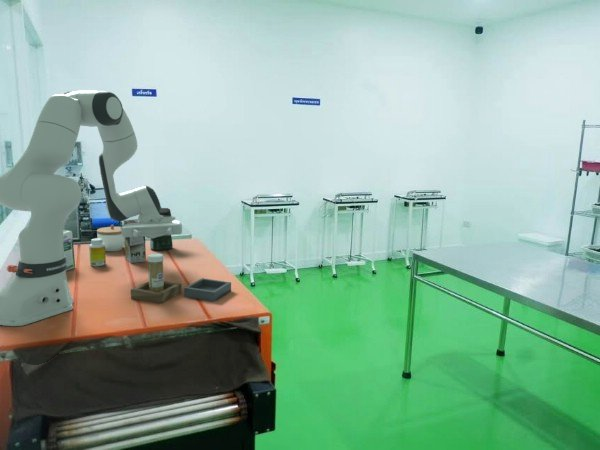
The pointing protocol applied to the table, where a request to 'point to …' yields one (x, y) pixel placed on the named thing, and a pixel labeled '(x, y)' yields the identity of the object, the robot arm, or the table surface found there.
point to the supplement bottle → (97, 252)
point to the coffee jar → (165, 240)
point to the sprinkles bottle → (156, 272)
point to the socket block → (153, 296)
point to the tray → (207, 289)
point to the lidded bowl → (111, 238)
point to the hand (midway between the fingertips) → (153, 233)
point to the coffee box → (134, 246)
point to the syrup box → (68, 249)
